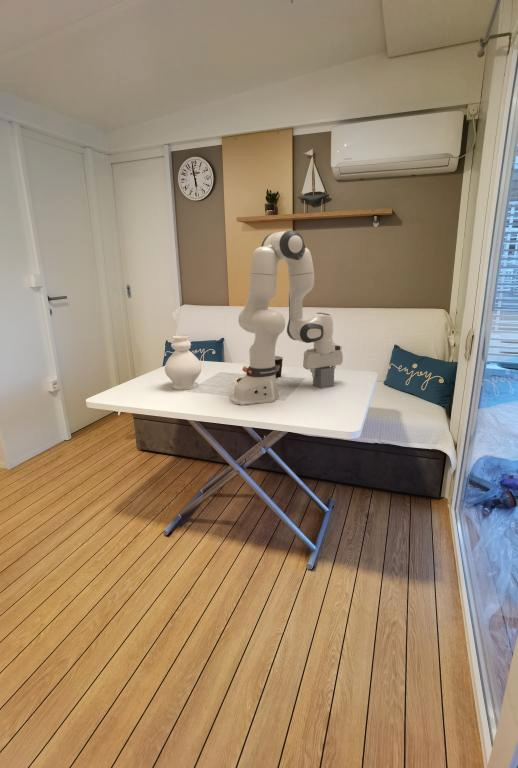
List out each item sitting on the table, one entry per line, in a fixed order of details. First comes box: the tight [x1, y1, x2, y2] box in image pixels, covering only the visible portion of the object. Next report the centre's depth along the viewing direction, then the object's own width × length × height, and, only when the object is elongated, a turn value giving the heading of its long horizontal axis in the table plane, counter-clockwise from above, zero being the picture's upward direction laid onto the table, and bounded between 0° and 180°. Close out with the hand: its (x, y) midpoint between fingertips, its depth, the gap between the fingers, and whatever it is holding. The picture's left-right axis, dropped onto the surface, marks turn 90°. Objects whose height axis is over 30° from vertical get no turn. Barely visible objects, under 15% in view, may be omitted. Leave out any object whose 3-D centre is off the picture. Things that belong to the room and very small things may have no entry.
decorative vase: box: [164, 334, 203, 390], centre depth 200 cm, size 18×18×25 cm
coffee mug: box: [275, 355, 284, 379], centre depth 214 cm, size 12×9×10 cm
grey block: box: [312, 366, 335, 389], centre depth 195 cm, size 7×7×9 cm
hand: (322, 375), depth 196 cm, fingers open, 8 cm apart
